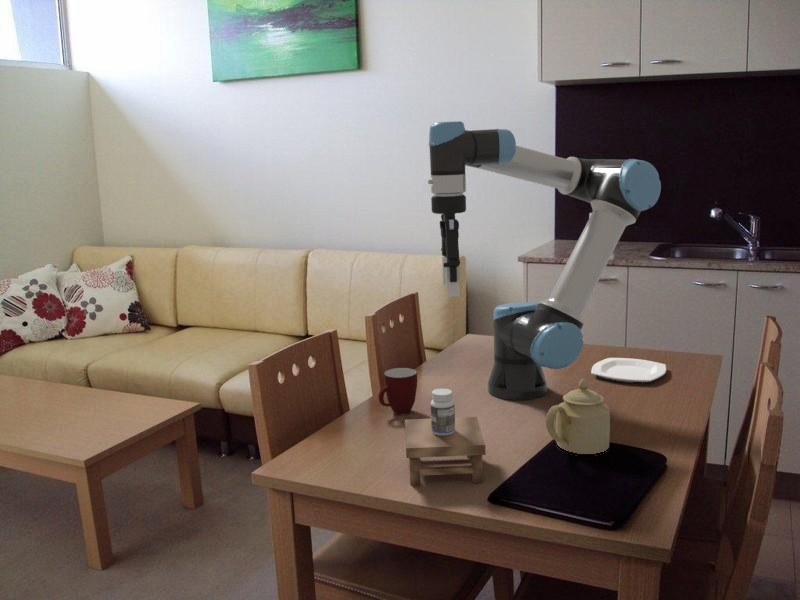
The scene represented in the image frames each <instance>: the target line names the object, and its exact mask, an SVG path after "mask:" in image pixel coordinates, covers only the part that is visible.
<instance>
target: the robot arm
mask: <svg viewBox="0 0 800 600" xmlns="http://www.w3.org/2000/svg"><path fill="white" fill-rule="evenodd" d="M428 135H429V136H428V139H429V140H428V146H429V160H430V161H429V162H430V164H429V165H430V178H431V179H428V180H427V184H428V185H431V187H430V188H431V189H430V191H431V194H433V196H431V197H430V198H431V199H430V200H431V213H433V214H436V215H440V219H441V220H440V221H439V229H440V237H441V249H440V252H441V255H442V257H441V262H442V266H441V268H442V269H441V270H442V286H446V298H453V297H454V298H457V297H461V295H460V294H461V291H460V289H461V287H460V286H461V285H460V284H461V283H460V264H461V260H460V249H459V237H460V234H459V233H460V232H459V229H460V222H459V221H458V219H456V214H463V213H465V212H467V197H466V195H465V194H464V193H465V192H467V182H466V181H467V178H466V167H471V168H476V169H479V170H483V171H487V172H492V173H496V174H499V175H503V176H506V177H511V178H515V179H519V180H522V181H527V182H530V183H531V182H532V183H535V184H539V185H543V186H546V187H550V188H554V189H557V191H558V192H559V193H560V194H562V195H565V196H569V197H572V198H575V199H578V200H581V201H584V202H586V203H589V204H590V206H591V209H592V212H591V215H590V217H589V219H588V220H587V222H586V224H585V227H584V228H583V231H582V232H581V234H580V236H579V237H578V240H577V241H576V244H575V246H574V248H573V250H572V252H571V254H570V256H569V258H568V259H567V262H566V264H565V266H564V268H563V270H562V271H561V273H560V276H559V278H558V279H557V281H556V283H555V285H554V287H553V290H552V291H551V293H550V296H549V297H548V298H546V299H544V300H542V301H540V302H539V303H538V302H534V301H533V302H531V301H530V302H529V301H526V302H523V301H522V302H512V303H510V302H509V303H504V304H499V305H497V306H496V307H495V308H494V309H493V318H492V322H493V351H494V353H493V354H494V355H493V356H494V357H493V358H494V359H493V365H492V369H491V371H490V374H489V378H488V381H487V391H488V393H489V394H490V395H492V396H494V397H496V398H500V399H504V400H505V399H506V400H515V401H516V400H519V401H520V400H521V401H523V400H531V399H536V398H537V399H538V398H539V397H543V396H544V395H546V393H547V391H548V389H547V388H548V384H547V380H546V375H545V373H544V370H543V368H547V369H551V370H560V369H564V368H567V367H569V366H571V365H572V364H573V363H574V362H575V361H576V360H577V359H578V358H579V357H580V354H581V353H582V351H583V347H584V341H583V338H584V335H583V333H582V331H581V330H582V329H583V327H584V324H585V323H584V320H583V317H582V316H583V315H582V314H583V312H584V310H585V309H586V306H587V304H588V302H589V300H590V298H591V296H592V294H593V293H594V291H595V288H596V286H597V285H598V282H599V281H600V278H601V277H602V274H603V273H604V272H605V268H606V267H607V265H608V263H609V261H610V259H611V257H612V255H613V254H614V253H613V252H614V250H615V249H616V248H617V245H618V242H619V241H620V239H621V237H622V235H623V233H624V231H625V229H626V227H628V226H630V225H633V224H635V223H636V221H637V220H638V218H639V216H640V214H641V212H643V211H646V210H648V209H651V208H652V207H654V206H655V205H656V204H657V202H658V200H659V197H660V195H661V190H662V182H661V180H660V175H659V172H658V171H657V169H656V167H655V166H654V165H653V164H652V163H650V162H648V161H647V160H646V161H645V160H641V159H635V158H629V159H616V158H615V159H614V158H612V159H610V158H602V159H601V158H598V159H597V158H595V159H592V158H591V159H586V158H579V157H575V156H569V157H567V158H564V157H559V156H557V155H552V154H549V153H545V152H542V151H538V150H534V149H531V148H527V147H523V146H519V145H517V144H516V138H515V136H514V134H513V132H512V131H511V130H510V129H507V128H506V129H505V128H503V129H500V128H494V129H493V128H491V129H476V130H474V129H473V130H467V129H465V123H464V122H463V121H438V122H437V121H435V122H433V123H431V125H430V126H429V134H428Z"/></svg>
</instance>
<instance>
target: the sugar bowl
mask: <svg viewBox="0 0 800 600" xmlns="http://www.w3.org/2000/svg"><path fill="white" fill-rule="evenodd" d="M588 387H589V384H588V381H587V380H586V378H581V379H580V380H579V382H578V388H576V389H572V390H570V391H568V392H567V393H566V394H564V395H563V396H562V400H563V401H562V402H561V403H558V404H554V405H552V406H551V407H550V408H549V409H548V411H547V413H546V418H545V425H546V429H547V432H548V434H549V435H550V437H551V439H553V440H554V441H555V444H556V443H557V445H558V446H559V447H560V448H562V449H564V450H566V451H569V452H573V453H577V454H596V453H600V452H604V451H606V450H607V449H608V448H609V449H610V439H611V438H610V435H611V433H610V432H611V410H610V408H609V406H607V405H606V404H604V403H603V402H604V400H605V398H604V396H602V395H601V394H599V393H598V392H596V391H595V390H591V389H587V388H588ZM557 445H556V446H557ZM609 449H608V450H609ZM606 452H607V451H606Z"/></svg>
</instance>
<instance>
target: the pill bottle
mask: <svg viewBox="0 0 800 600" xmlns="http://www.w3.org/2000/svg"><path fill="white" fill-rule="evenodd" d="M431 398H432V400H431V401H430V419H431V430H432V433H433V434H435V435H440V436H445V435H451V434H453V433H454V432H455V418H456V417H455V415H456V414H455V401H454V399H453V391H452V390H451V389H450V388H449V389H448V388H435V389H433V390H432V392H431Z"/></svg>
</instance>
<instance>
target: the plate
mask: <svg viewBox="0 0 800 600" xmlns="http://www.w3.org/2000/svg"><path fill="white" fill-rule="evenodd" d="M666 372H667V365H666V364H665V363H661V362H657V361H653V360H646V359H640V358H629V357H628V358H627V357H607V358H605V359H602V360H599V361H597V362H596V363H594V364H593V366H592V367H591V372H590V373H591V375H594V376H598V377H599V378H602V379H606V380H610V379H611V381H615V380H616V381H615V382H621V381H622V382H624V383H633V382H642V383H641V384H645V382H646V383H648V382H652V381H654V380H655V381H656V380H657V379H660V378H661V377H663V376H665V374H666ZM622 382H621V383H622ZM643 382H644V383H643Z"/></svg>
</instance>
